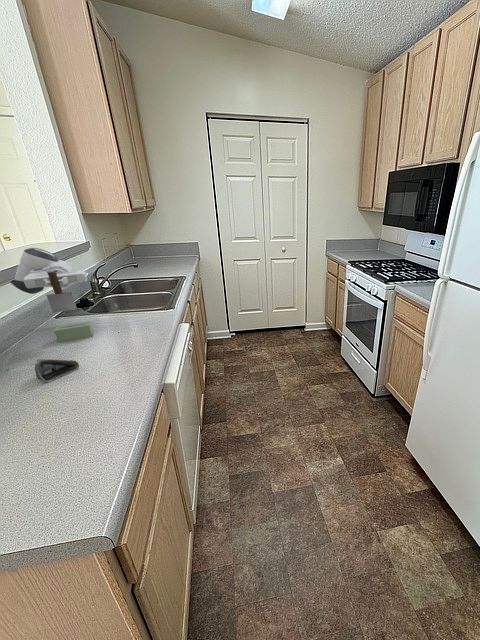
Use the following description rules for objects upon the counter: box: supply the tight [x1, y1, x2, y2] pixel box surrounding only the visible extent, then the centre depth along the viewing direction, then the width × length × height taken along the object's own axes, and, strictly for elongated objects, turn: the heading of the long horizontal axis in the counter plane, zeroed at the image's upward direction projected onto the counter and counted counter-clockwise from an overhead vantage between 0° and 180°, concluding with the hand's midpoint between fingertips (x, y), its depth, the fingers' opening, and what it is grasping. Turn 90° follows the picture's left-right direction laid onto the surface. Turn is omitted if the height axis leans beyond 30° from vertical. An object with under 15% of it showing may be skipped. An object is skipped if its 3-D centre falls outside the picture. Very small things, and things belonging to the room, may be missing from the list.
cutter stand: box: [53, 321, 94, 343], centre depth 135 cm, size 12×5×6 cm, turn 118°
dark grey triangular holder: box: [34, 358, 80, 383], centre depth 109 cm, size 10×7×12 cm
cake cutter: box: [46, 271, 78, 314], centre depth 125 cm, size 8×3×15 cm, turn 118°
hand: (54, 283), depth 123 cm, fingers closed on cake cutter, 2 cm apart
